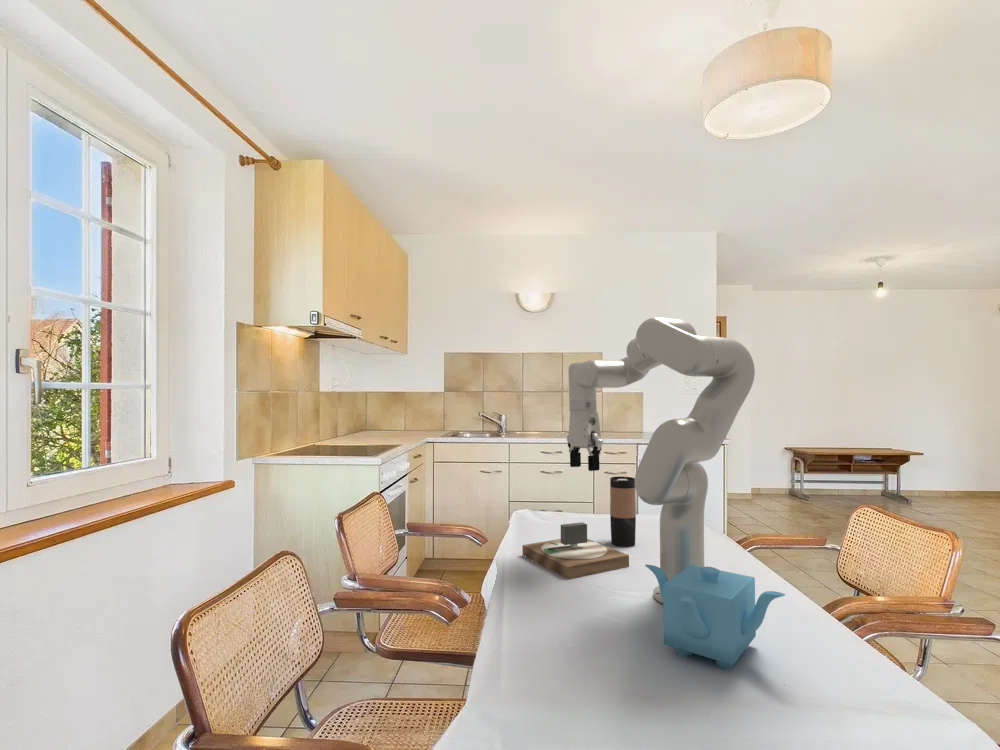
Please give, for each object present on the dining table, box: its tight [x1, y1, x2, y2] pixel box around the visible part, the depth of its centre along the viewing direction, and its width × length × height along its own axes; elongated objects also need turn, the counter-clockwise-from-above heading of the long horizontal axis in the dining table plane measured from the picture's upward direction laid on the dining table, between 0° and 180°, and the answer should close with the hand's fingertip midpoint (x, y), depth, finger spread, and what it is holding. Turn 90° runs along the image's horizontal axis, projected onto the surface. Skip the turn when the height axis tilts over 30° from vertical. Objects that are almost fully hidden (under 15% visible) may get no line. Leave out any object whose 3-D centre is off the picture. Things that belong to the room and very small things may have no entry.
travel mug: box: [609, 475, 637, 548], centre depth 167 cm, size 8×8×20 cm
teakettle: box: [644, 564, 786, 670], centre depth 99 cm, size 19×19×15 cm
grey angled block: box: [548, 521, 588, 550], centre depth 149 cm, size 12×2×6 cm, turn 112°
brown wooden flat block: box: [522, 538, 630, 580], centre depth 150 cm, size 22×20×4 cm
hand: (584, 468), depth 150 cm, fingers open, 9 cm apart
